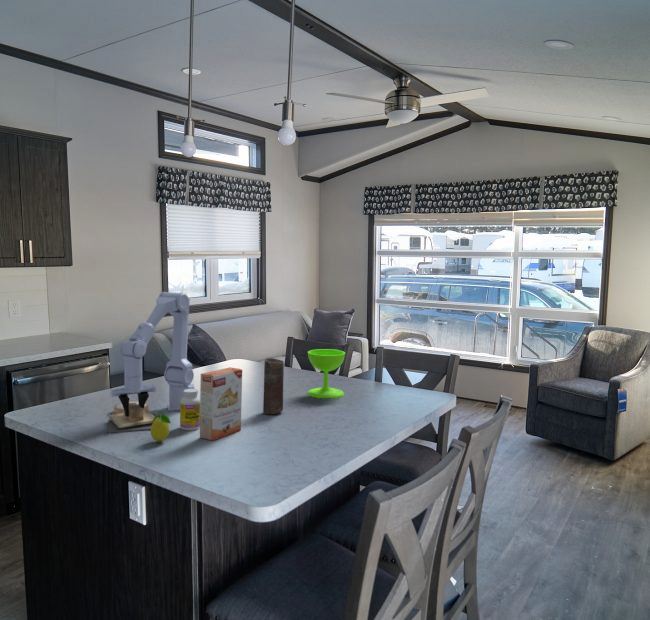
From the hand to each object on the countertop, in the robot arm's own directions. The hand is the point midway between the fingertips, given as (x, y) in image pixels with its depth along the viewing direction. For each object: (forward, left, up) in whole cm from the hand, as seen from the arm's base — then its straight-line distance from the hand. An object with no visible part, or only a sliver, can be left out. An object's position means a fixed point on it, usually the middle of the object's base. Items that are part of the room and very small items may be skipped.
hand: (133, 414), depth 187 cm
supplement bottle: (-18, +9, -3) cm, 20 cm away
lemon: (-8, +21, -3) cm, 23 cm away
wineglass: (-77, -24, -3) cm, 81 cm away
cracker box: (-27, +18, -3) cm, 33 cm away
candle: (-49, -2, -3) cm, 49 cm away
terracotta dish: (+1, -15, -3) cm, 15 cm away
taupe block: (0, 0, -2) cm, 2 cm away
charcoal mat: (0, 0, -3) cm, 3 cm away
